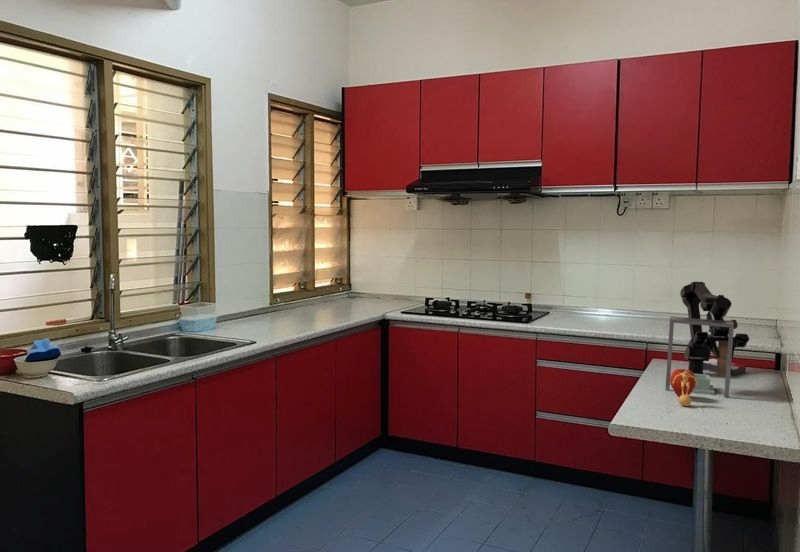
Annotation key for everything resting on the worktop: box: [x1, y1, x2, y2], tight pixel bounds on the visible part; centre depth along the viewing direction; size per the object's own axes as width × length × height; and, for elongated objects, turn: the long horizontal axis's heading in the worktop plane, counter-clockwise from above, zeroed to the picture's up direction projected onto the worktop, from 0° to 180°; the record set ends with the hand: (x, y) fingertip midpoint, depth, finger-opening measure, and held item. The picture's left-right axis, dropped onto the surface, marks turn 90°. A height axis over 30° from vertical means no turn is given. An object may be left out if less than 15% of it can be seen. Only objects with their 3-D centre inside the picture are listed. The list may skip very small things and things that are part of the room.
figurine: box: [672, 371, 698, 407], centre depth 222 cm, size 8×6×12 cm
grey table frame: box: [665, 316, 735, 399], centre depth 240 cm, size 8×21×27 cm, turn 66°
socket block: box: [691, 374, 715, 396], centre depth 245 cm, size 12×12×5 cm
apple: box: [670, 368, 696, 398], centre depth 231 cm, size 9×8×11 cm
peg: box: [715, 341, 728, 377], centre depth 240 cm, size 4×4×12 cm
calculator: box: [703, 358, 747, 377], centre depth 278 cm, size 11×4×15 cm
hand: (725, 358), depth 238 cm, fingers closed on peg, 4 cm apart
